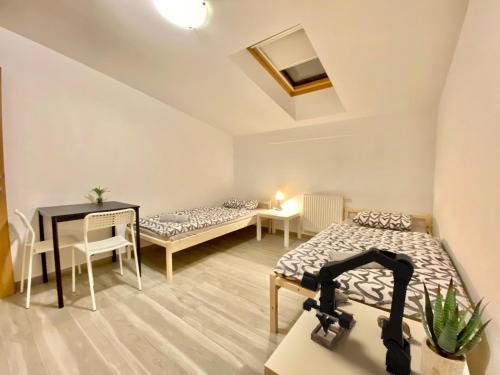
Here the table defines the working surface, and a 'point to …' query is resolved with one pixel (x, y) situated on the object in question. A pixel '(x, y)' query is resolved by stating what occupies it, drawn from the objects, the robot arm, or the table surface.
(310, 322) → the table surface
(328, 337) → the tile
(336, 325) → the tile
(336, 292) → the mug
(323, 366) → the table surface
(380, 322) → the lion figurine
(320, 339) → the tile rack
